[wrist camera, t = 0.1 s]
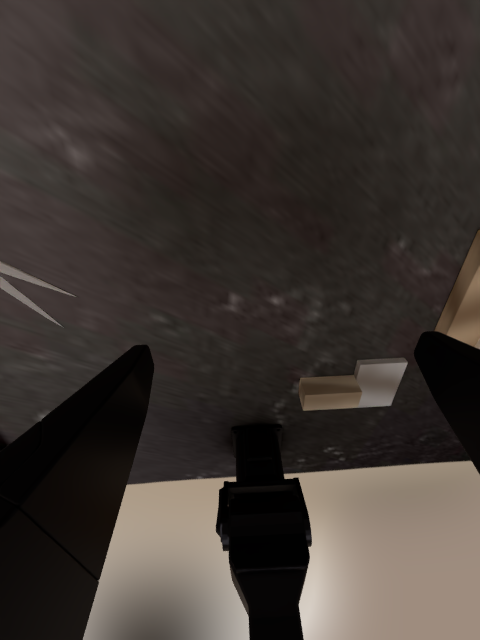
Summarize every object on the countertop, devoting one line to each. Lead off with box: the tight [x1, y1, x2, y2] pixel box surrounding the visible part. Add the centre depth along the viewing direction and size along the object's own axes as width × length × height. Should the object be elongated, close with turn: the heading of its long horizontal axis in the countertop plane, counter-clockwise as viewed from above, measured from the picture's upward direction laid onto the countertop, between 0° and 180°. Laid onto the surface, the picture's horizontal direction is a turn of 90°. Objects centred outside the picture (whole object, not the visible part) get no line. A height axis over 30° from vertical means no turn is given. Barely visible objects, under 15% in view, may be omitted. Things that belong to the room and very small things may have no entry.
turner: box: [299, 358, 408, 411], centre depth 30 cm, size 7×11×2 cm, turn 93°
